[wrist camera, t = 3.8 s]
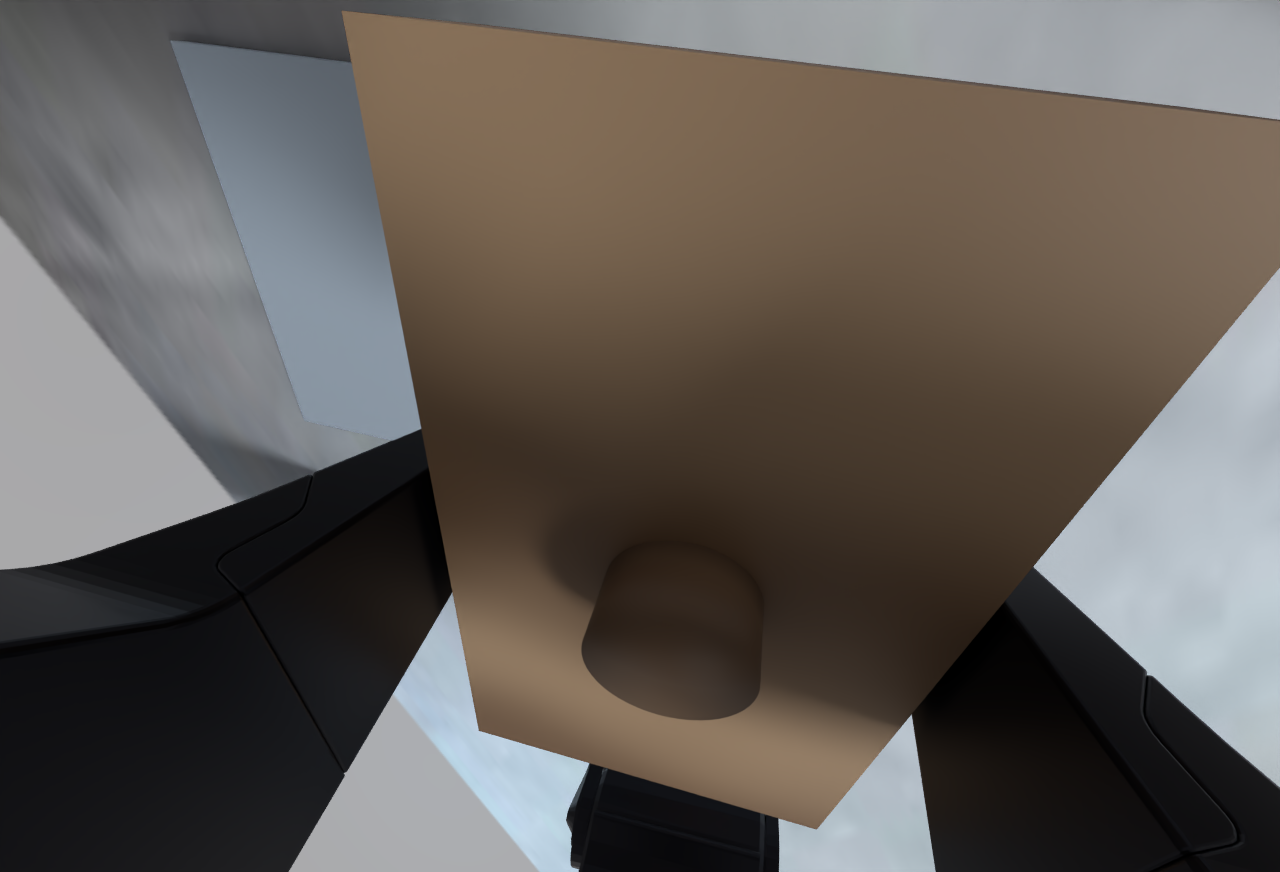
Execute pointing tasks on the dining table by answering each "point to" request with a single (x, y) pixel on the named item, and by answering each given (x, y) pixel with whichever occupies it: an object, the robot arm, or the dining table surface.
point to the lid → (773, 370)
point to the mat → (308, 227)
